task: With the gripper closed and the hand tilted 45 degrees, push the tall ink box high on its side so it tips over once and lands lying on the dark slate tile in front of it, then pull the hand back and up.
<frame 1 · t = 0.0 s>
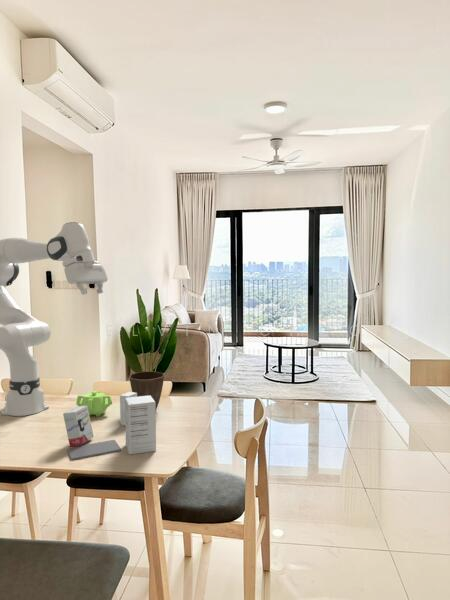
hand: (92, 293, 167), 52 cm above the table, tool tilted 20°, fingers open, 8 cm apart
plant pot: (147, 411, 183), on the table
supplement box: (140, 448, 144), on the table
teapot: (94, 414, 180), on the table
skincare box: (129, 423, 169), on the table
ink box: (82, 442, 148), on the table
slate tile: (94, 450, 142), on the table
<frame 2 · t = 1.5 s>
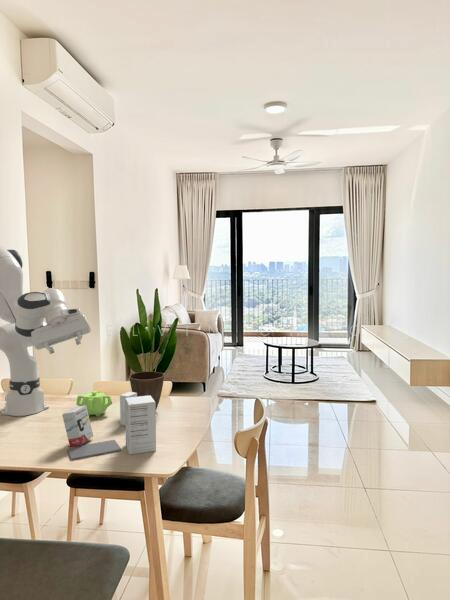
hand: (65, 347, 150), 33 cm above the table, tool tilted 50°, fingers open, 8 cm apart
ink box: (82, 442, 148), on the table, touching slate tile
everything else where it was.
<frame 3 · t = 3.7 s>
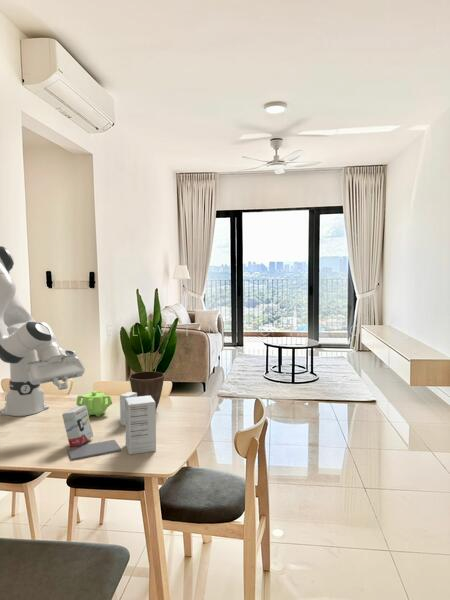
hand: (63, 388, 156), 17 cm above the table, tool tilted 45°, fingers closed
nothing on the table moved.
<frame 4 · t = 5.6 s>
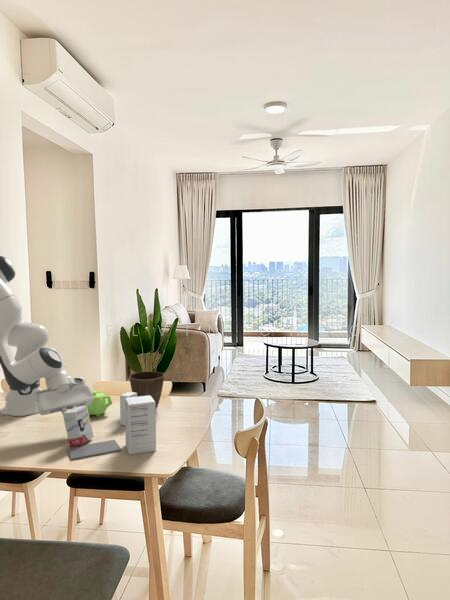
hand: (72, 418, 152), 7 cm above the table, tool tilted 45°, fingers closed
ink box: (82, 442, 148), on the table, touching gripper, slate tile
everything else where it was.
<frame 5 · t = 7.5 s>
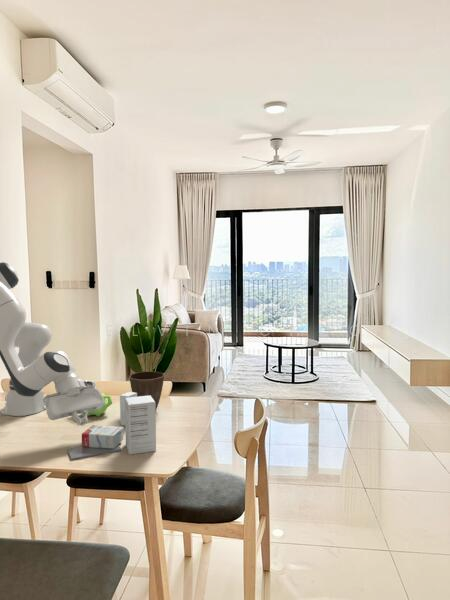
hand: (83, 423, 147), 7 cm above the table, tool tilted 45°, fingers closed
ink box: (86, 435, 147), point 3 cm above the table, touching slate tile
everything else where it was.
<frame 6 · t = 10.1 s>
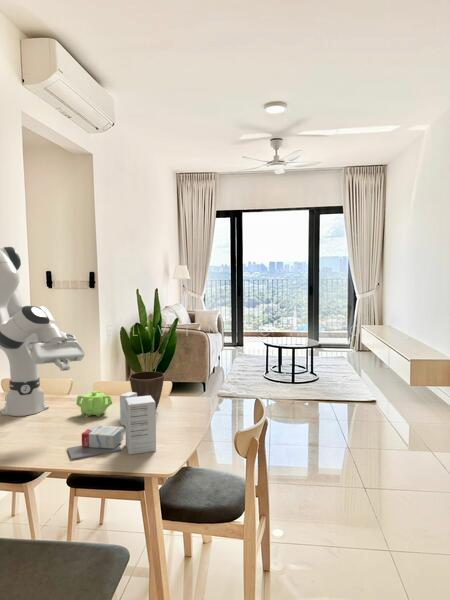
hand: (66, 369, 156), 24 cm above the table, tool tilted 45°, fingers closed
nothing on the table moved.
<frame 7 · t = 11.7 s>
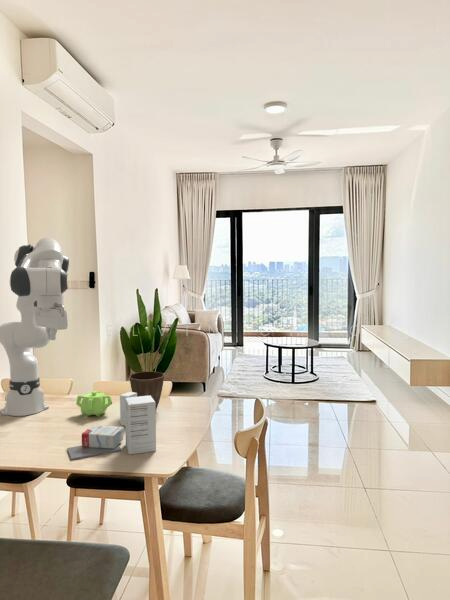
hand: (51, 339, 157), 35 cm above the table, tool pointing down, fingers closed
nothing on the table moved.
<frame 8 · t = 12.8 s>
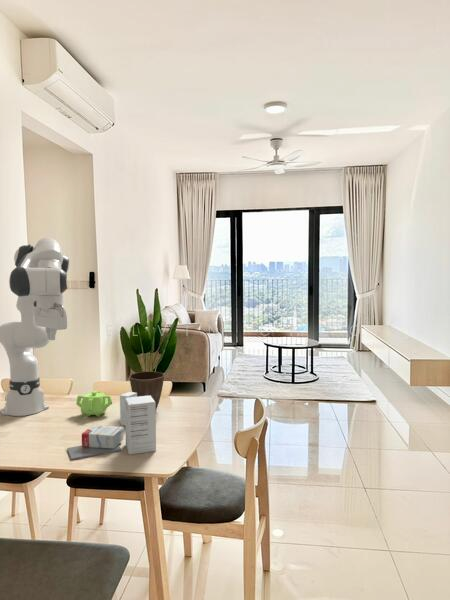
hand: (51, 339, 157), 35 cm above the table, tool pointing down, fingers closed
nothing on the table moved.
at the end: ink box tilted 90°; ink box touching slate tile; ink box inside the target area (3.8 cm from its centre), point 3.0 cm above the table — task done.
